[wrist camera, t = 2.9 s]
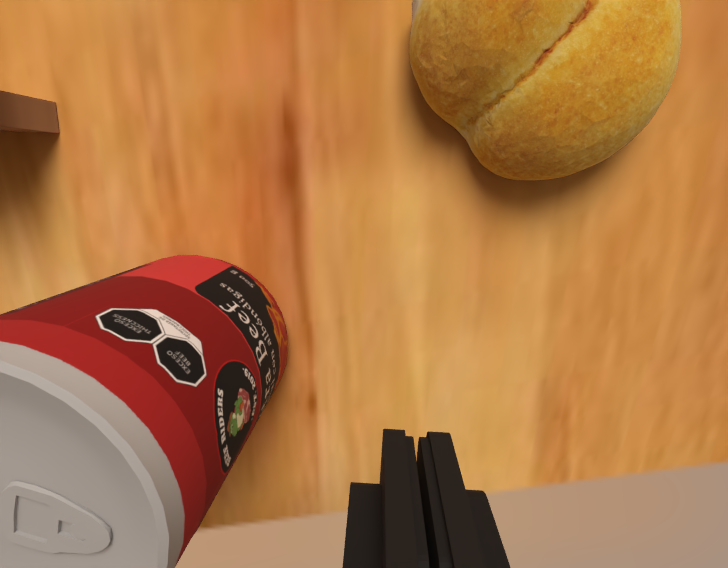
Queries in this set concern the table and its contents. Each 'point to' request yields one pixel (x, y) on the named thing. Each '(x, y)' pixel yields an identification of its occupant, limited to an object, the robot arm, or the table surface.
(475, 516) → the robot arm
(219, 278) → the canned food
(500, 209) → the table surface
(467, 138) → the bread roll
